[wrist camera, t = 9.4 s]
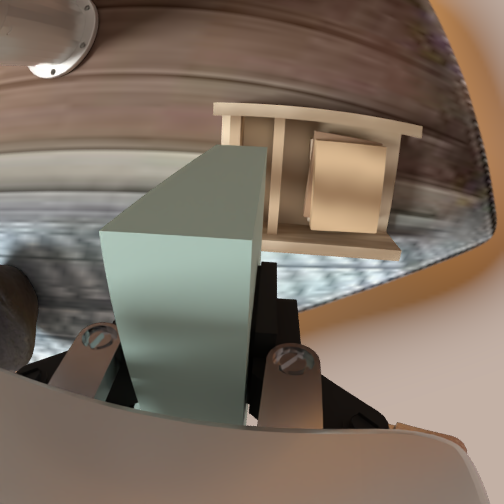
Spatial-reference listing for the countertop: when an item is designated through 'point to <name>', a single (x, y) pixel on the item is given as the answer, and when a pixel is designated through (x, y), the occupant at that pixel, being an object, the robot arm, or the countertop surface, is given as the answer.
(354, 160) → the offcut
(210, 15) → the countertop surface
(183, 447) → the robot arm
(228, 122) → the rack
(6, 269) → the pitcher
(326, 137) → the offcut
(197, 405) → the pale green slab
